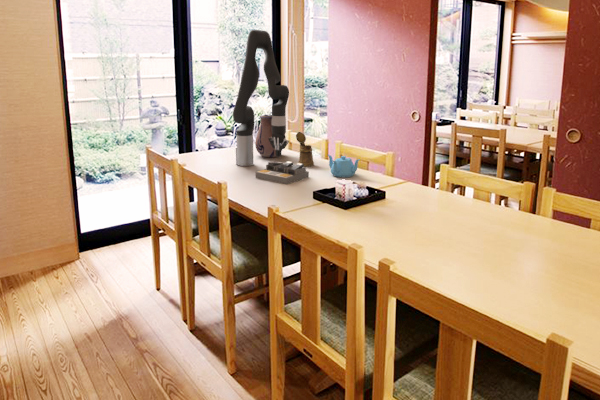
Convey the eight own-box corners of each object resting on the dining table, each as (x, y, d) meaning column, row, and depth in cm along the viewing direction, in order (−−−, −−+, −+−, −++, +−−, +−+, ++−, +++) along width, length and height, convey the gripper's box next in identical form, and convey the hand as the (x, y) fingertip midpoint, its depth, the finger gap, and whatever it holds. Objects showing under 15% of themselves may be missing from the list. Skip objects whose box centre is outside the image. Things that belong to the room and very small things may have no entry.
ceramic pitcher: (274, 152, 331) (274, 113, 324) (292, 157, 314) (292, 116, 307) (250, 155, 322) (249, 114, 315) (267, 161, 305) (266, 119, 298)
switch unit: (255, 177, 267) (255, 167, 266) (278, 171, 281) (277, 161, 279) (286, 184, 255) (286, 173, 253) (308, 177, 269) (308, 166, 267)
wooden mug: (305, 161, 306) (305, 131, 301) (316, 165, 294) (317, 134, 289) (292, 162, 302) (292, 132, 297) (302, 167, 290) (303, 135, 285)
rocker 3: (289, 172, 263) (288, 169, 263) (298, 165, 269) (297, 162, 268) (294, 173, 261) (294, 170, 260) (303, 166, 266) (303, 163, 266)
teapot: (353, 171, 281) (353, 153, 278) (360, 178, 267) (361, 158, 264) (326, 172, 279) (327, 153, 276) (332, 179, 265) (333, 159, 262)
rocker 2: (278, 170, 267) (278, 167, 267) (288, 163, 273) (287, 160, 272) (283, 171, 265) (283, 168, 265) (293, 164, 271) (292, 161, 270)
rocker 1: (268, 165, 271) (268, 162, 271) (277, 165, 277) (278, 162, 277) (273, 166, 269) (273, 163, 268) (282, 166, 275) (283, 162, 275)
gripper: (264, 123, 270) (264, 155, 275) (283, 126, 262) (283, 159, 267) (273, 121, 275) (273, 153, 281) (292, 124, 268) (292, 157, 273)
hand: (278, 156), depth 274 cm, fingers closed
